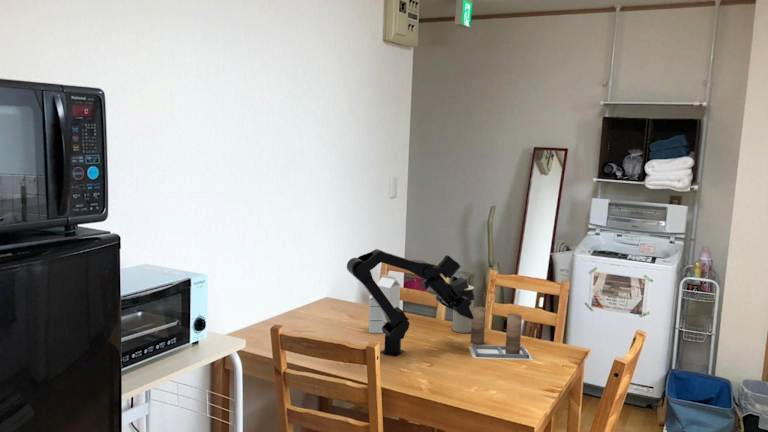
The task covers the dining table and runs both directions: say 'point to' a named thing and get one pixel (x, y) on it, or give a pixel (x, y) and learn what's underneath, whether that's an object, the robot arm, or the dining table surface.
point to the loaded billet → (513, 333)
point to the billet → (478, 325)
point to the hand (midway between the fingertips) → (466, 315)
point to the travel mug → (461, 322)
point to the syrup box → (375, 317)
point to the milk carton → (390, 290)
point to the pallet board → (497, 352)
